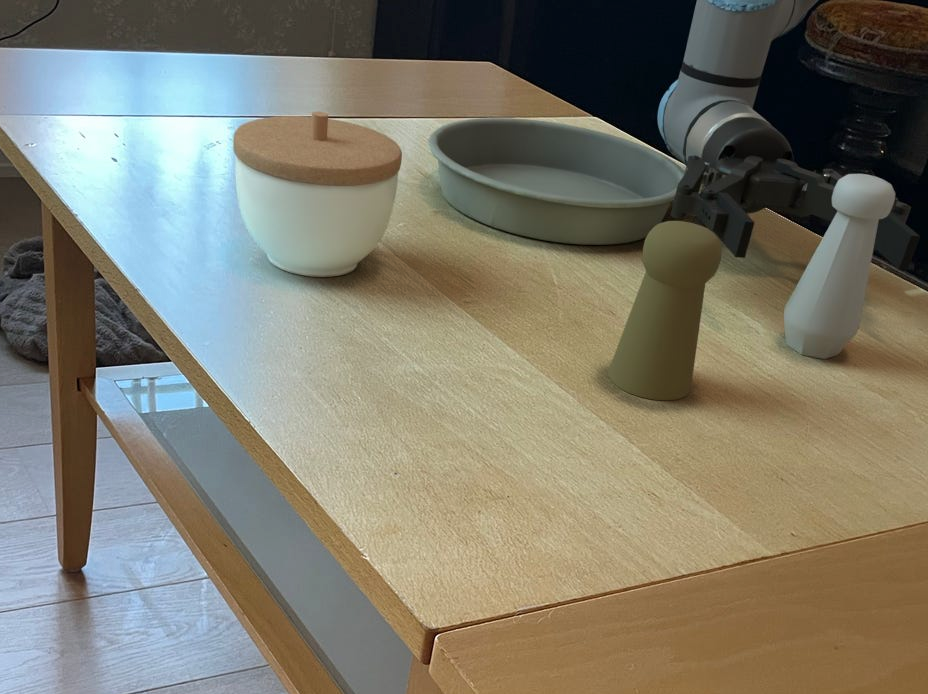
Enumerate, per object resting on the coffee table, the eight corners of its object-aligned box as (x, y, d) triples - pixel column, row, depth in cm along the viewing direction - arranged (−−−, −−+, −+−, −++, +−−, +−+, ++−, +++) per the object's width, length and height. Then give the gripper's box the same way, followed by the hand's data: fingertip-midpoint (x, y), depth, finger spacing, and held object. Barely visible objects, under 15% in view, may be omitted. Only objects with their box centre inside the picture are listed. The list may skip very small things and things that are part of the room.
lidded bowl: (218, 230, 95) (218, 86, 88) (365, 230, 99) (376, 92, 92) (251, 293, 86) (254, 138, 79) (411, 290, 90) (427, 142, 83)
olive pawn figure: (708, 392, 83) (753, 239, 76) (646, 406, 79) (686, 248, 73) (652, 356, 86) (689, 207, 79) (590, 368, 83) (624, 215, 76)
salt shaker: (807, 367, 88) (867, 194, 80) (760, 335, 92) (812, 166, 84) (863, 359, 91) (926, 191, 83) (814, 328, 94) (870, 164, 86)
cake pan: (731, 238, 110) (744, 189, 107) (528, 267, 97) (537, 213, 94) (568, 155, 124) (576, 110, 121) (374, 170, 112) (378, 121, 109)
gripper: (852, 212, 109) (956, 304, 93) (598, 189, 105) (661, 282, 89) (880, 128, 105) (995, 210, 89) (616, 101, 100) (686, 182, 84)
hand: (828, 247), depth 89 cm, fingers open, 13 cm apart
